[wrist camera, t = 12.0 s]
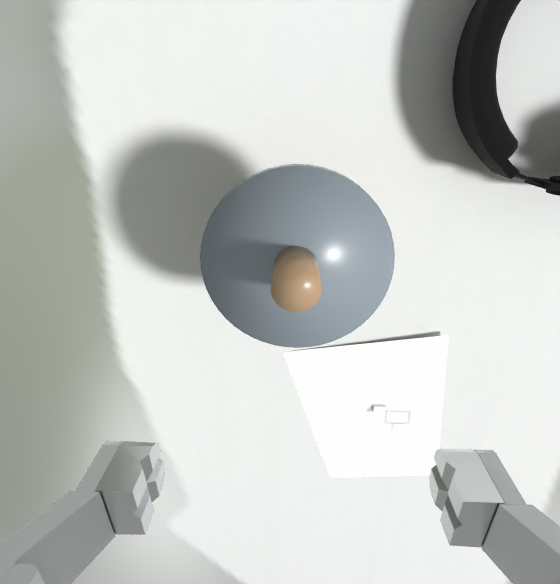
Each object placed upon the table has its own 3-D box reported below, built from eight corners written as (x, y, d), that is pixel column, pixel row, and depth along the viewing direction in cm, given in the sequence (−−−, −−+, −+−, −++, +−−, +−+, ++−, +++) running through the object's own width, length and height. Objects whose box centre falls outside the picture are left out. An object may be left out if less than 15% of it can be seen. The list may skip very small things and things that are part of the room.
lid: (192, 166, 23) (170, 177, 19) (402, 161, 22) (425, 172, 18) (213, 339, 29) (200, 376, 25) (381, 340, 28) (395, 378, 24)
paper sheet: (432, 482, 48) (435, 490, 47) (216, 474, 51) (214, 481, 50) (463, 330, 37) (467, 336, 36) (188, 331, 40) (185, 336, 39)
